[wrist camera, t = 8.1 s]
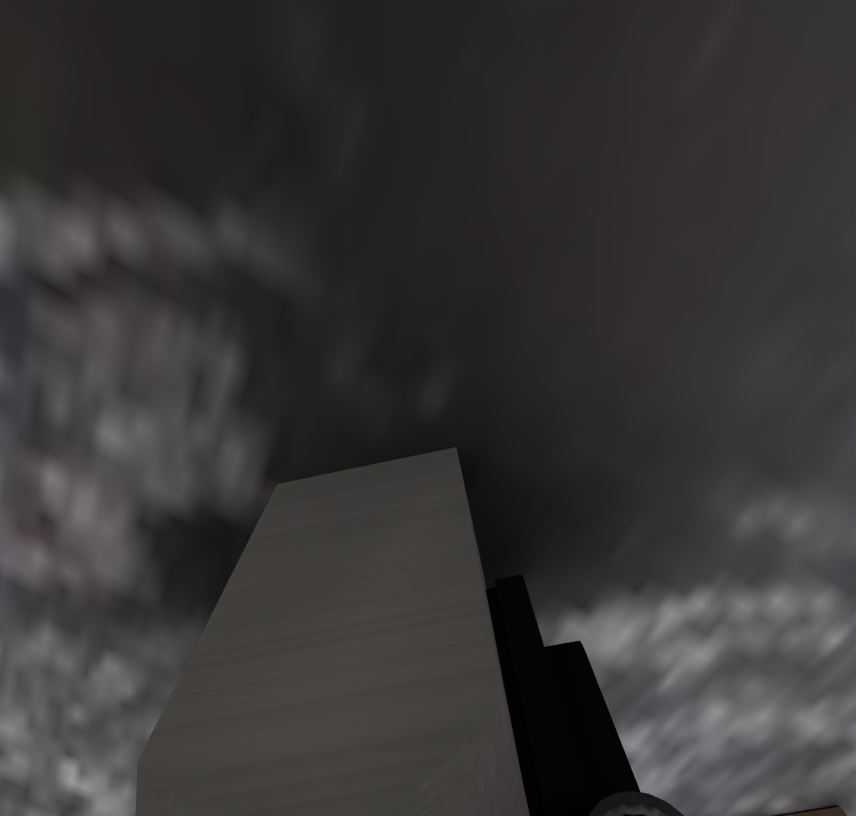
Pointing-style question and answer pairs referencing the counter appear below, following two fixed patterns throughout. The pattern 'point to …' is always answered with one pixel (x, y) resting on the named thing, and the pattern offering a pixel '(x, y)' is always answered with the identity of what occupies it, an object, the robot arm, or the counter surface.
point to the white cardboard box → (345, 663)
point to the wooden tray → (822, 812)
